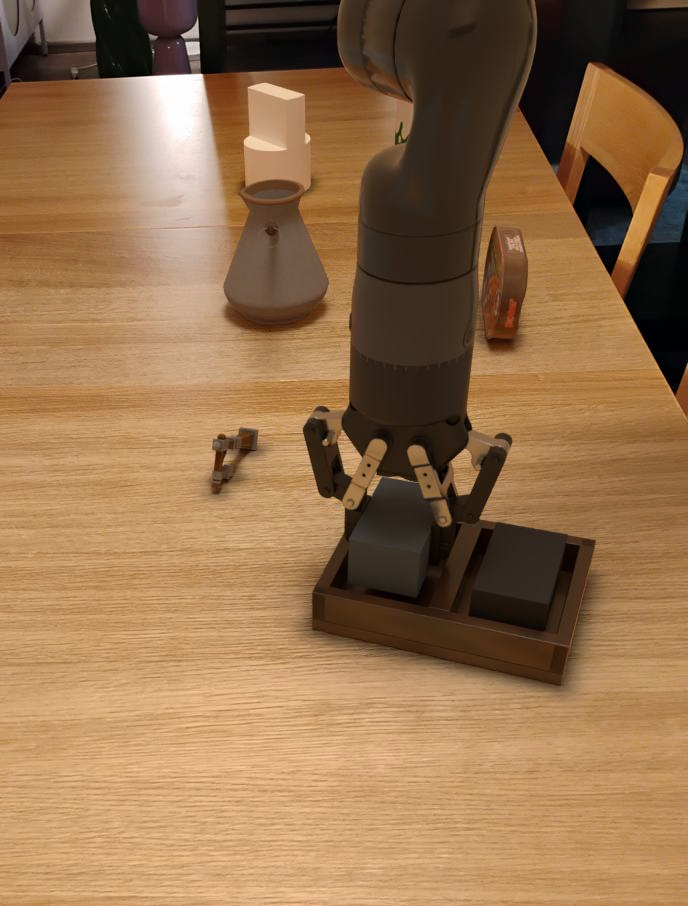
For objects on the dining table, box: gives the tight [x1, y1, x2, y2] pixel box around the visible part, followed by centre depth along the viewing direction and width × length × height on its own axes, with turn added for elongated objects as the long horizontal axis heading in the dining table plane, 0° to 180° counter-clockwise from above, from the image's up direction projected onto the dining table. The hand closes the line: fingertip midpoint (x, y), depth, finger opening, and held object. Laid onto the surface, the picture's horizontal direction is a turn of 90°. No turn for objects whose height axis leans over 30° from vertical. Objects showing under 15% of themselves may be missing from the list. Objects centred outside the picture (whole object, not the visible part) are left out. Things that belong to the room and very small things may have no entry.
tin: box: [481, 225, 529, 340], centre depth 105 cm, size 15×3×8 cm, turn 172°
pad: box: [348, 476, 434, 598], centre depth 73 cm, size 5×8×4 cm, turn 157°
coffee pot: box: [222, 179, 330, 326], centre depth 105 cm, size 21×12×15 cm, turn 176°
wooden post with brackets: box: [211, 426, 259, 489], centre depth 90 cm, size 2×8×4 cm, turn 157°
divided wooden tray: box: [311, 519, 597, 686], centre depth 74 cm, size 18×12×4 cm
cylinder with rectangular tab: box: [243, 82, 312, 192], centre depth 138 cm, size 9×9×12 cm
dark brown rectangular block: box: [469, 521, 569, 632], centre depth 72 cm, size 5×8×4 cm, turn 157°
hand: (397, 550), depth 74 cm, fingers closed on pad, 5 cm apart
